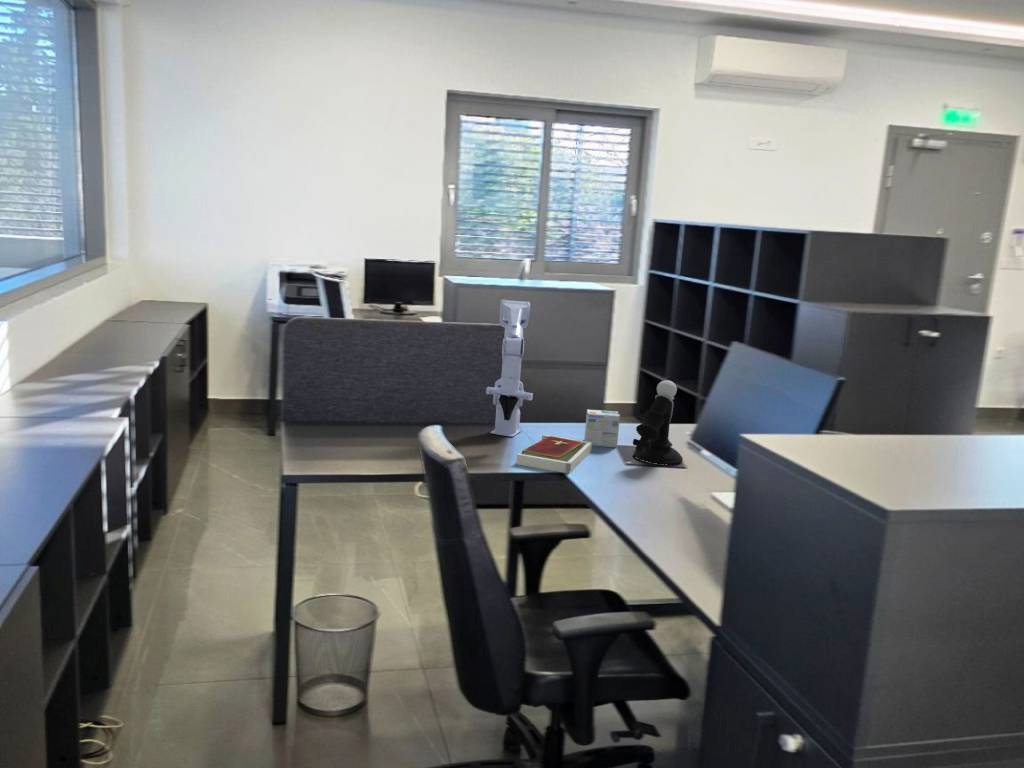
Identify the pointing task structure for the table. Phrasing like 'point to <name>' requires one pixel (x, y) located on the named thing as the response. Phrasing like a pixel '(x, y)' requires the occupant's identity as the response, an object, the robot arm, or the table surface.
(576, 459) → the document bay
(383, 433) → the table surface
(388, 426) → the table surface
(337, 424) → the table surface
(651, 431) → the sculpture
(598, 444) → the light bulb box
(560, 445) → the hardcover book
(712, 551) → the table surface
